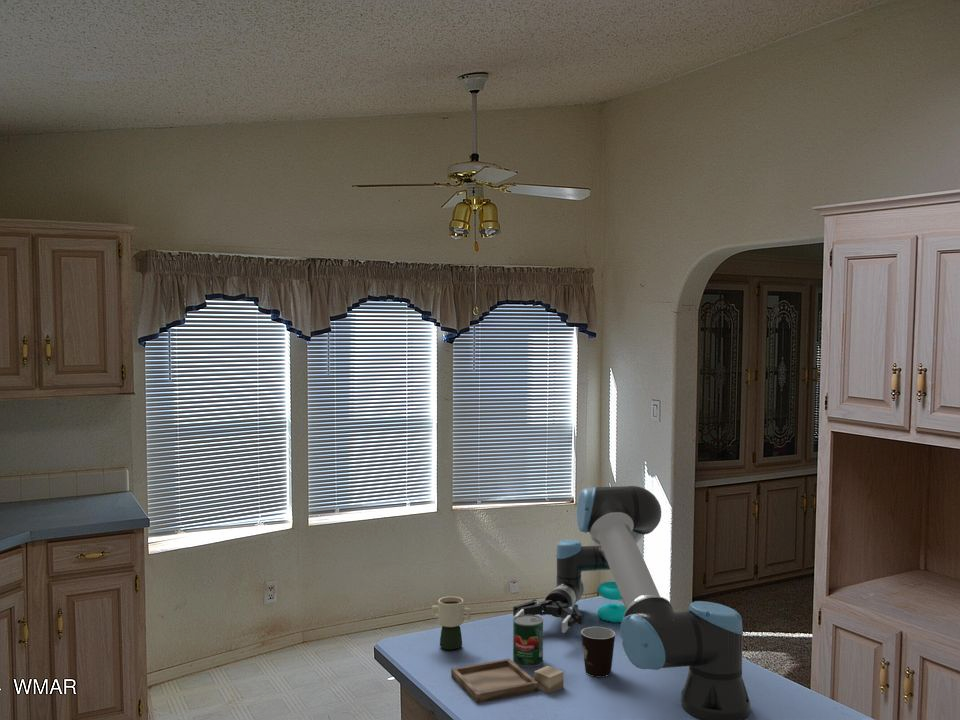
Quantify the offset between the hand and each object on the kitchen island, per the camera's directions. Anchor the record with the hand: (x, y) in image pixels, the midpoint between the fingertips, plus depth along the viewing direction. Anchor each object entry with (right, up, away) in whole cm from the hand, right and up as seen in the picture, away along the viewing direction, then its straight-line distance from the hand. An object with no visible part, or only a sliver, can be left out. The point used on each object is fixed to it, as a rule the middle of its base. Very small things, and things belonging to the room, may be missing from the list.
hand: (538, 624), depth 218 cm
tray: (-13, -7, -23) cm, 27 cm away
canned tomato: (-3, -7, -9) cm, 12 cm away
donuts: (+25, -6, +24) cm, 35 cm away
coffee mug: (+14, -7, -14) cm, 21 cm away
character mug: (-24, -7, +1) cm, 25 cm away
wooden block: (+1, -7, -25) cm, 26 cm away
